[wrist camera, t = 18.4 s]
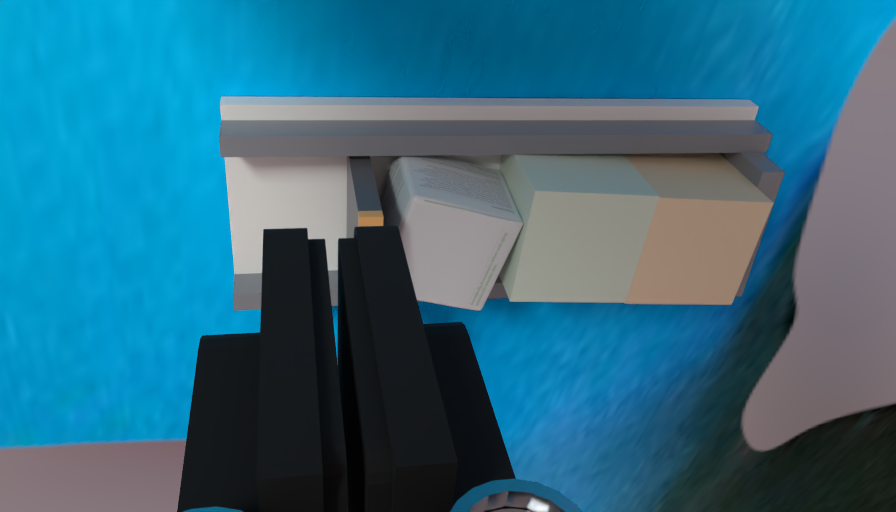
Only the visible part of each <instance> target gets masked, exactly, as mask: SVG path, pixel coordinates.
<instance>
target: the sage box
mask: <svg viewBox="0 0 896 512" xmlns="http://www.w3.org/2000/svg"><path fill="white" fill-rule="evenodd" d="M499 171H500V172H501V173H502V175H503V178H504V180H505V182H506V184H507V187H508V189H509V191H510V194H511V196H512V198H513V200H514V203H515V205H516V207H517V210H518V212H519V214H520V216H521V219H522V221H523V223H524V224H523V226H522V228H521V230H520V232H519V234H518V236H517V238H516V240H515V242H514V244H513V246H512V249H511V251H510V253H509V255H508V257H507V259H506V261H505V263H504V265H503V267H502V269H501V271H500V273H499V276H500V279H501V281H502V284H503V286H504V288H505V291H506V293H507V295H508V298H509V300H510V302H599V303H625V302H626V299H627V296H628V293H629V289H630V286H631V283H632V280H633V277H634V274H635V271H636V268H637V265H638V262H639V258H640V255H641V252H642V249H643V246H644V243H645V240H646V237H647V234H648V231H649V227H650V224H651V221H652V218H653V215H654V212H655V209H656V206H657V203H658V199H659V195H658V194H657V193H656V192H655V190H654V189H653V188H652V187H651V186H650V185H649V184H648V182H647V181H646V180H645V179H644V178H643V177H642V175H641V174H640V173H639V172H638V171H637V170H636V168H635V167H634V166H633V165H632V164H631V163H630V161H629V160H628V159H627V158H626V157H625V156H624V154H533V155H502V156H501V162H500V167H499Z"/></svg>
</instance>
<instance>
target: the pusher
mask: <svg viewBox="0 0 896 512" xmlns="http://www.w3.org/2000/svg"><path fill="white" fill-rule="evenodd" d="M383 219H384V216H383V212H382V207H381V203H380V199H379V194H378V190H377V185H376V181H375V177H374V172H373V168H372V163H371V159H370V156H347V238H354V228H355V227H360V226H383Z"/></svg>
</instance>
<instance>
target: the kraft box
mask: <svg viewBox="0 0 896 512" xmlns="http://www.w3.org/2000/svg"><path fill="white" fill-rule="evenodd" d="M624 156H625V157H626V158H627V159H628V160H629V161H630V163H631V164H632V165H633V166H634V167H635V168H636V170H637V171H638V172H639V173H640V174H641V175H642V177H643V178H644V179H645V180H646V181H647V182H648V184H649V185H650V186H651V187H652V188H653V189H654V190H655V192H656V193H657V194H658V195H659V199H658V203H657V206H656V209H655V212H654V215H653V218H652V221H651V224H650V227H649V231H648V234H647V237H646V240H645V243H644V246H643V249H642V252H641V255H640V258H639V262H638V265H637V268H636V271H635V274H634V277H633V280H632V283H631V286H630V289H629V293H628V296H627V299H626V302H625V304H699V305H732V303H733V300H734V298H735V295H736V293H737V291H738V288H739V286H740V283H741V281H742V278H743V276H744V274H745V271H746V269H747V266H748V264H749V262H750V259H751V257H752V254H753V252H754V249H755V247H756V245H757V242H758V240H759V237H760V235H761V232H762V230H763V228H764V225H765V223H766V220H767V218H768V215H769V213H770V211H771V208H772V206H773V202H772V201H771V200H770V199H769V198H768V197H767V196H766V195H765V194H764V193H762V192H761V191H760V190H759V189H758V188H757V187H756V186H755V185H754V184H753V183H751V182H750V181H749V180H748V179H747V178H746V177H745V176H744V175H743V174H742V173H740V172H739V171H738V170H737V169H736V168H735V167H734V166H733V165H732V164H731V163H730V162H728V161H727V160H726V159H725V158H724V157H723V156H722V155H721V154H720V153H645V154H624Z"/></svg>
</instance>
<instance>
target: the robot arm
mask: <svg viewBox="0 0 896 512" xmlns="http://www.w3.org/2000/svg"><path fill="white" fill-rule="evenodd" d="M177 512H582V510H581V509H580V508H579V507H578V505H577V504H575V503H574V502H572V501H571V500H570V499H568V498H567V497H566V496H564V495H563V494H562V493H560V492H559V491H557V490H554V489H552V488H550V487H547V486H545V485H542V484H540V483H538V482H532V481H526V480H520V479H516V478H515V475H514V472H513V469H512V466H511V463H510V460H509V457H508V454H507V451H506V448H505V445H504V442H503V439H502V435H501V432H500V429H499V426H498V423H497V420H496V417H495V414H494V411H493V408H492V405H491V402H490V399H489V396H488V393H487V389H486V386H485V383H484V380H483V377H482V374H481V371H480V368H479V365H478V362H477V359H476V356H475V353H474V350H473V347H472V344H471V340H470V337H469V334H468V332H467V329H466V327H465V325H464V324H463V323H462V322H454V323H435V324H423V322H422V318H421V314H420V310H419V306H418V302H417V298H416V294H415V290H414V287H413V283H412V279H411V275H410V271H409V267H408V263H407V259H406V255H405V251H404V247H403V243H402V239H401V235H400V231H399V228H398V226H360V227H355V228H354V238H339V239H338V366H337V356H336V346H335V335H334V325H333V315H332V305H331V295H330V284H329V274H328V264H327V254H326V244H325V239H308V231H307V228H285V229H264V230H263V257H262V292H261V328H260V333H243V334H224V335H205V336H202V337H201V339H200V343H199V348H198V356H197V364H196V372H195V379H194V387H193V395H192V402H191V410H190V418H189V425H188V433H187V441H186V449H185V456H184V464H183V471H182V479H181V487H180V495H179V502H178V510H177Z"/></svg>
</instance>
